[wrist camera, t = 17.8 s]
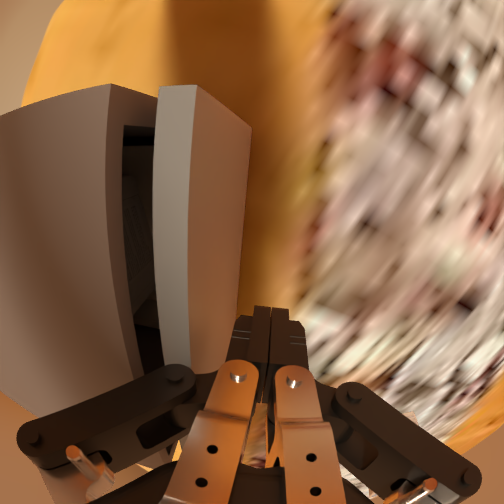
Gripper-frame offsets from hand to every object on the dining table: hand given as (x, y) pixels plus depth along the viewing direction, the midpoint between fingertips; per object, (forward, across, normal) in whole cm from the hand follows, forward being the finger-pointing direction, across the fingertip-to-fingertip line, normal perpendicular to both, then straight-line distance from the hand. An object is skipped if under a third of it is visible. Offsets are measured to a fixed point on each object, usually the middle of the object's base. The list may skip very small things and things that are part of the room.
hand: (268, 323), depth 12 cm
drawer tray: (+12, +12, 0) cm, 17 cm away
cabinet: (+12, +14, 0) cm, 19 cm away
